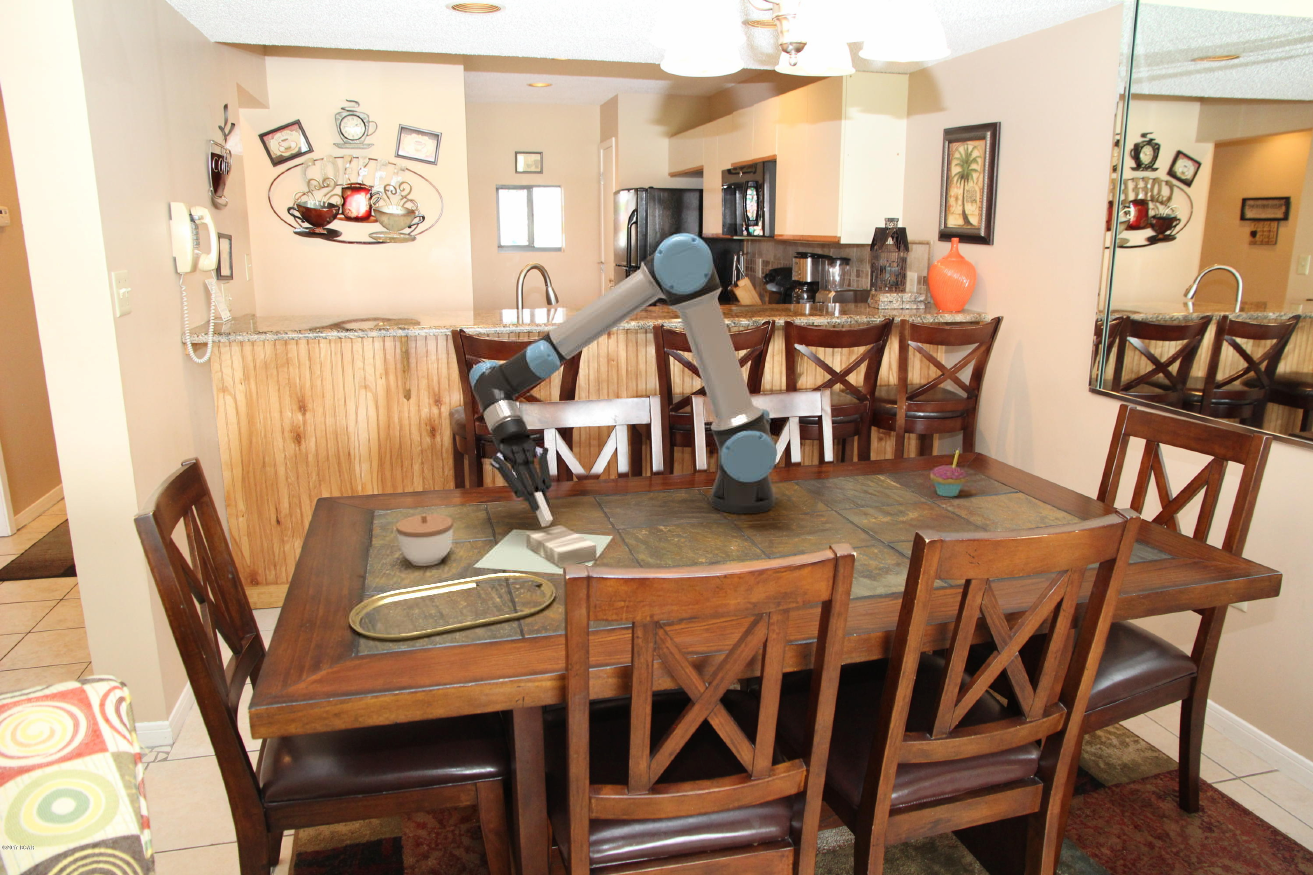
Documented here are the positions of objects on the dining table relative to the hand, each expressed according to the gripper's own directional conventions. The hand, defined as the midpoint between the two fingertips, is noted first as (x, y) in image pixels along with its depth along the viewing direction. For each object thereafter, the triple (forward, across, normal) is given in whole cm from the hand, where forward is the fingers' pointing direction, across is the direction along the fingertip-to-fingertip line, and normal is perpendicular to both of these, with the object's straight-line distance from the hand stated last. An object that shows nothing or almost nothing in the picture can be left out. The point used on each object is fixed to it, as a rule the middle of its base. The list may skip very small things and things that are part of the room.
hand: (547, 522), depth 180 cm
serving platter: (+16, +26, +6) cm, 31 cm away
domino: (+1, 0, -5) cm, 5 cm away
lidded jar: (-2, +22, -11) cm, 25 cm away
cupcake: (+20, -98, +11) cm, 101 cm away
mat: (+5, +1, -3) cm, 6 cm away
